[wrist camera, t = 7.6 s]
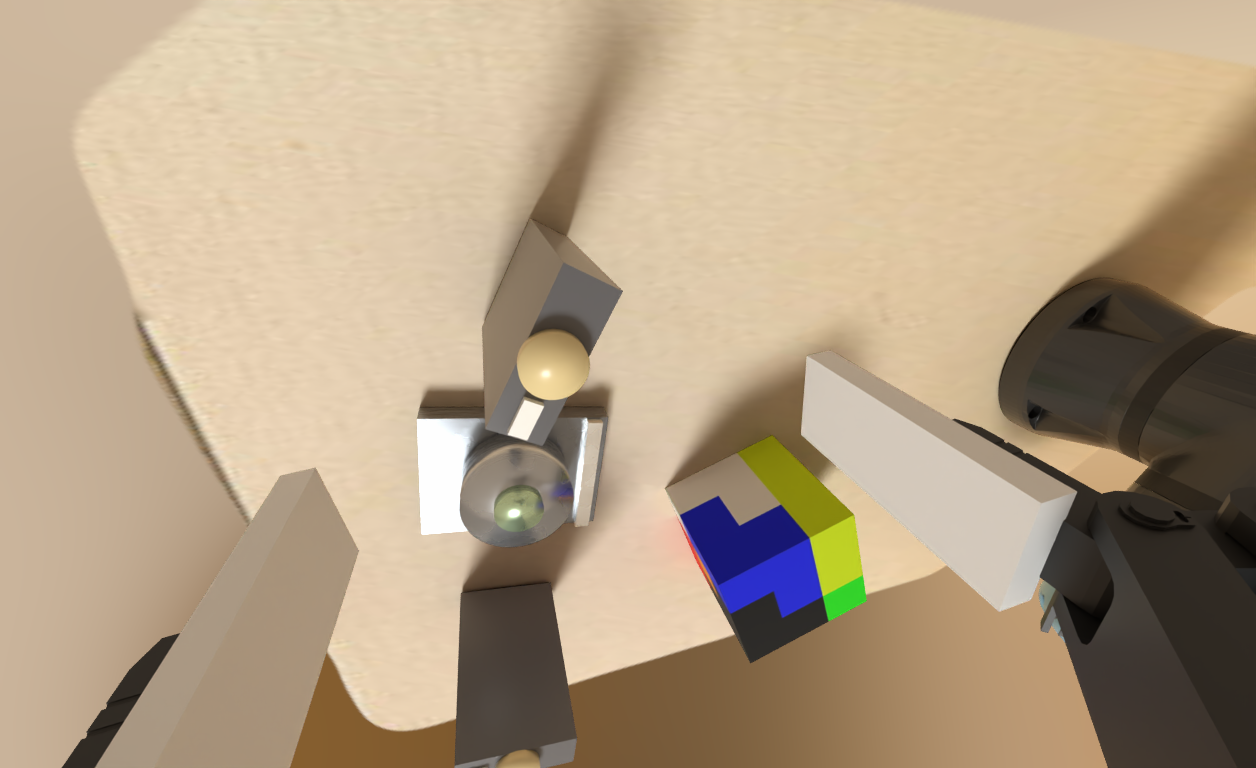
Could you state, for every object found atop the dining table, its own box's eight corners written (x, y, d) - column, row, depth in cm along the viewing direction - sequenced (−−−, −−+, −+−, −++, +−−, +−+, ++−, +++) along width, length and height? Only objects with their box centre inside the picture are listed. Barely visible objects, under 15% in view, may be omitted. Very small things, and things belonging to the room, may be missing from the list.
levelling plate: (603, 407, 34) (623, 447, 29) (589, 508, 37) (604, 558, 33) (419, 407, 30) (409, 454, 25) (423, 519, 33) (415, 578, 29)
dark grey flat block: (528, 217, 26) (563, 264, 16) (569, 238, 28) (629, 296, 17) (480, 326, 28) (482, 436, 18) (521, 342, 29) (546, 454, 19)
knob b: (550, 581, 39) (578, 748, 28) (548, 604, 40) (574, 773, 29) (460, 592, 37) (454, 777, 26) (460, 615, 38) (454, 802, 27)
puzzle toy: (664, 488, 39) (718, 585, 30) (771, 434, 39) (854, 514, 31) (696, 561, 44) (750, 663, 35) (791, 513, 44) (866, 601, 36)
